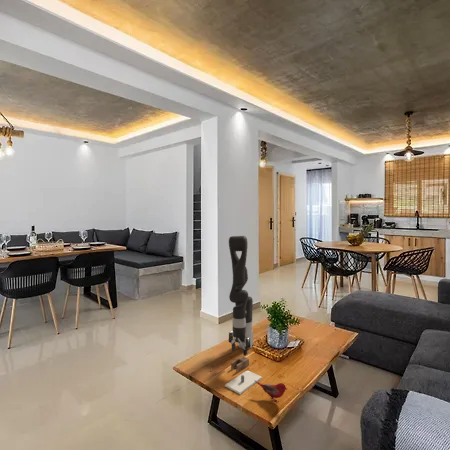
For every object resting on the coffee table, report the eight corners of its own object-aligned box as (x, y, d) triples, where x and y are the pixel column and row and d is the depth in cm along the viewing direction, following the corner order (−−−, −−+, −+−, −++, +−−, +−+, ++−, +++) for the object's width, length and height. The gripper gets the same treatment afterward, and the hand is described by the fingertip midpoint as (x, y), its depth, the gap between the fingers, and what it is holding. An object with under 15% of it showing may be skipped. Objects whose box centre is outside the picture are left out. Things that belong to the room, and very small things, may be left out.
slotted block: (237, 372, 171) (237, 365, 170) (231, 369, 174) (230, 362, 174) (249, 365, 178) (248, 358, 178) (242, 362, 181) (242, 355, 181)
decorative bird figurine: (285, 407, 141) (285, 386, 140) (252, 393, 152) (252, 374, 151) (288, 404, 143) (288, 383, 143) (255, 390, 154) (255, 371, 153)
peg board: (247, 371, 171) (247, 364, 171) (261, 378, 164) (261, 371, 164) (225, 386, 158) (225, 379, 158) (240, 394, 151) (240, 386, 151)
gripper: (253, 326, 172) (253, 354, 173) (234, 320, 182) (234, 346, 183) (244, 330, 166) (244, 359, 167) (225, 323, 176) (225, 351, 177)
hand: (239, 352), depth 175 cm, fingers open, 8 cm apart
